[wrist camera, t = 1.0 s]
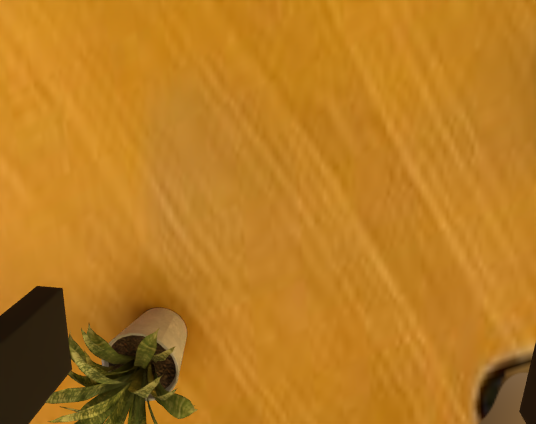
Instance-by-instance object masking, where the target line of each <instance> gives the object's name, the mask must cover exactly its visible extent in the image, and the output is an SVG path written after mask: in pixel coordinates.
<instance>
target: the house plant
mask: <svg viewBox="0 0 536 424" xmlns="http://www.w3.org/2000/svg"><path fill="white" fill-rule="evenodd" d="M81 331H82V335H83V339H84V342H85V344H86V346H87V347H88V348H89V350H90V351H91V352H92V353H93V354H94V355H95V356H97V357H99V358H101V359H102V365H99V364H96V363H95V362H93V361H92V360H91V359H90V357H89V356H88V355H87V353H86V352H85V350H84V352H83V350H82V349H81V348H80V346H79V345H78V344H77V343H76V342H75V341H74V340H73V339H72V337H71V335H70V334H69V338H68V340H69V349H70V357H71V359H72V360H73V361H74V362H75V363H76V364H77V366H78V367H79V369H80V370H81V371H82V372H83V373H84V374H85V375H86V376H81V375H77V374H75V373H74V372H72V371H70V372H69V374H68V375H69V376H70V377H71V378H72V379H74V380H75V381H77V382H78V383H80V384H82V385H83V386H85V387H82V388H68V389H64V390H61V391H58V392H54V393H53V394H52V395H51V396H50V398H49V399H48V400H47V401H46V403H51V404H54V403H69V402H79V401H84V400H88V399H90V398H92V397H94V396H96V395H98V394H99V395H98V396H96V397H95V398H93V399H92V400H91V401H89V402H88V403H86V404H85V405H84V406H83V407H82V409H81V410H76V409H71V408H66V407H62V408H66V409H70V410H73V411H75V412H77V413H73V414H69V415H65V416H62V417H60V418H57V419H55V420H53V421H47V422H70V421H76V420H79V421H77V422H76V423H75V424H103V423H104V422H105V420H106V419H107V418H108V419H107V420H106V422H105V423H104V424H124V421H125V419H126V416H127V414H128V411H129V418H128V424H146V410H145V401H147V402H148V407H149V410H150V413H151V416H152V419H153V422H154V424H157V422H156V420H155V417H154V415H153V413H152V410H151V407H150V404H149V401H152V400H156V401H157V402H158V403H159V404H161V405H162V406H163V407H164V408H165V409H166V410H167V411H168V412H169V413H170V414H171V415H173V416H174V417H176V418H178V419H181V418H185V417H187V416H189V415H191V414H192V413H194V412H195V411H197V409H195V408H194V407H193V405H192V403H191V401H190V400H188V399H187V398H185V397H183V396H181V395H178V394H175V391H176V389H175V390H173V389H174V387H175V385H176V384H177V381H178V377H179V372H180V367H181V362H182V357H183V353H184V348H185V343H186V338H187V328H186V325H185V323H184V321H183V320H182V318H181V317H180V316H179V315H178V314H176V313H175V312H173V311H171V310H169V309H165V308H153V309H150V310H148V311H146V312H144V313H143V314H142V315H141V316H140V317H139V318H137V319H136V320H135V321H134V322H133V323H131V324H130V325H129V326H128V327H127V328H125V329H124V330H123V331H122V332H121V333H119V334H118V335H117V336H116V337H115V338H114V339H112V340H111V341H110V342H109V343H107V342H106V341H105V340H104V339H103V338H101V337H100V336H98V335H97V334H96V333H95V332H94V331H93V330H92V329H91V328H90V324H89V326H88V331H87V334H86V333H85V332H84V331H83V330H82V328H81ZM172 390H173V391H172ZM59 407H60V406H59ZM129 409H130V410H129Z"/></svg>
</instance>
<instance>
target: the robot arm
mask: <svg viewBox="0 0 536 424" xmlns="http://www.w3.org/2000/svg"><path fill="white" fill-rule="evenodd" d="M71 370H72V366H71V357H70V349H69V340H68V332H67V323H66V315H65V306H64V298H63V289H62V288H54V287H42V286H37V287H35V288H34V289H33V290H32V291H30V292H29V293H28V294H27V295H25V296H24V297H23V298H22V299H21V300H19V301H18V302H17V303H16V304H14V305H13V306H12V307H11V308H9V309H8V310H7V311H6V312H4V313H3V314H2V315H1V316H0V424H29V423H30V421H31V420H32V419H33V418H34V416H35V415H36V414H37V413H38V411H39V410H40V409H41V408H42V406H43V405H44V404H45V403H46V401H47V400H48V399H49V398H50V396H51V395H52V394H53V392H54V391H55V390H56V389H57V387H58V386H59V385H60V384H61V382H62V381H63V380H64V379H65V377H66V376H67V375H68V374H69V372H70V371H71ZM520 413H521V415H522V417H523V418H524V420H525V422H526V424H536V344H535V348H534V352H533V356H532V360H531V365H530V369H529V373H528V377H527V382H526V386H525V390H524V394H523V398H522V402H521V407H520Z"/></svg>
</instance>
